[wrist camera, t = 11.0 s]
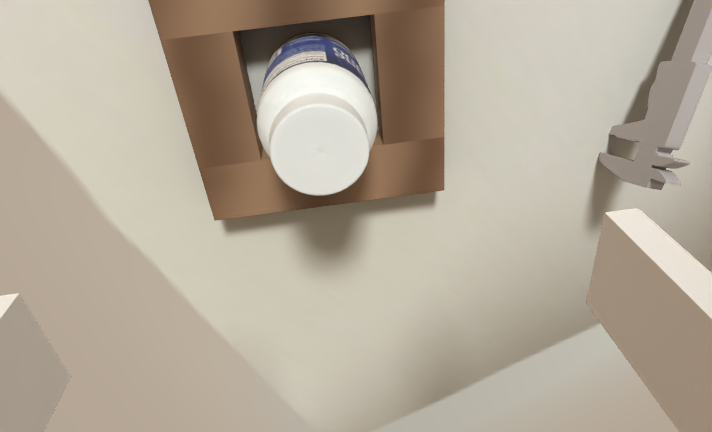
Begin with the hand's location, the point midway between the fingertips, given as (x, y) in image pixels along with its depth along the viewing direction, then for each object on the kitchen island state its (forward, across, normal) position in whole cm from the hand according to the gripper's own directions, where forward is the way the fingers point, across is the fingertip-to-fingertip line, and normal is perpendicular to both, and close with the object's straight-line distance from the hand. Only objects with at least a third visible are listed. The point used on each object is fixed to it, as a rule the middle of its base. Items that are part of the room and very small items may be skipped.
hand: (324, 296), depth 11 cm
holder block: (+19, 0, 0) cm, 19 cm away
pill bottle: (+19, 0, 0) cm, 19 cm away
